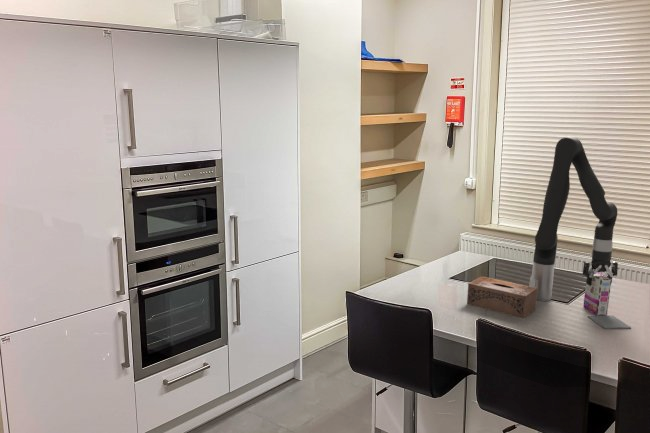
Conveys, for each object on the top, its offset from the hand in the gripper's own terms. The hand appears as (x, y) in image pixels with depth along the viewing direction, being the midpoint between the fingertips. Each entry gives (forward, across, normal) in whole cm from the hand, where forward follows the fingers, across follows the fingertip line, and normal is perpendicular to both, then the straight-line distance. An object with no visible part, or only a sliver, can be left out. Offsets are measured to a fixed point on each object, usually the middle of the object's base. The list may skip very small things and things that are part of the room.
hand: (598, 285), depth 240 cm
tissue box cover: (+12, -40, +6) cm, 43 cm away
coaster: (+12, -2, -13) cm, 18 cm away
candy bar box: (+12, 0, 0) cm, 12 cm away
